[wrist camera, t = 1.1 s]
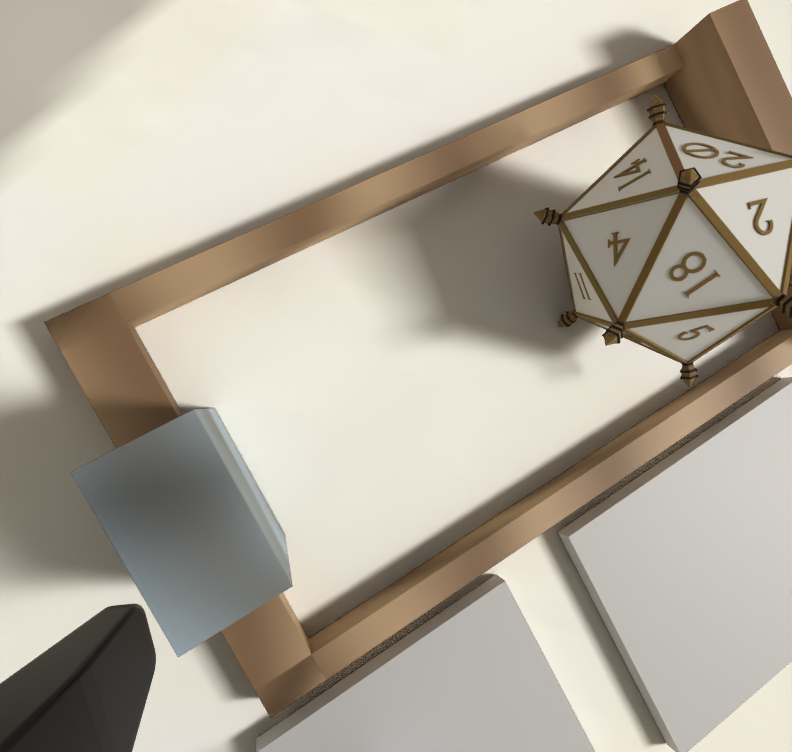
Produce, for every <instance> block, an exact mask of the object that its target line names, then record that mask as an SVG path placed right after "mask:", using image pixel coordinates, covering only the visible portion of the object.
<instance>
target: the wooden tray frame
mask: <svg viewBox="0 0 792 752" xmlns="http://www.w3.org/2000/svg"><path fill="white" fill-rule="evenodd" d="M663 83H664V84H665V86H666V89H667V91H668V93H669V95H670V97H671V99H672V101H673V103H674V106H675V108H676V110H677V112H678V114H679V116H680V118H681V120H682V123H683V125H684V127H685V128H688V129H692V130H695V131H699V132H703V133H707V134H711V135H715V136H719V137H723V138H727V139H730V140H734V141H738V142H742V143H746V144H750V145H754V146H758V147H761V148H765V149H769V150H773V151H777V152H781V153H785V154H789V155H792V97H791V95H790V93H789V91H788V89H787V86H786V84H785V82H784V80H783V78H782V75H781V73H780V71H779V69H778V67H777V64H776V62H775V60H774V58H773V56H772V53H771V51H770V49H769V47H768V45H767V42H766V40H765V38H764V36H763V34H762V31H761V29H760V27H759V25H758V23H757V20H756V18H755V16H754V14H753V12H752V9H751V7H750V5H749V3H748V1H747V0H739V1H737V2H734V3H732V4H730V5H727V6H725V7H723V8H720V9H718V10H716V11H713V12H711V13H709V14H708V15H707V16H706V17H705V18H703V19H702V20H701V21H700V22H699V23H698V24H697V25H696V26H694V27H693V28H692V29H691V30H690V31H689V32H688V33H686V34H685V35H684V36H683V37H682V38H681V39H680V40H679V41H677V42H676V43H675V44H674V45H671V46H669V47H667V48H665V49H662V50H660V51H658V52H655V53H653V54H651V55H649V56H646V57H644V58H642V59H640V60H637V61H635V62H633V63H631V64H628V65H626V66H624V67H621V68H619V69H617V70H615V71H612V72H610V73H608V74H606V75H603V76H601V77H599V78H596V79H594V80H592V81H590V82H587V83H585V84H583V85H581V86H578V87H576V88H574V89H572V90H569V91H567V92H565V93H562V94H560V95H558V96H556V97H553V98H551V99H549V100H547V101H544V102H542V103H540V104H538V105H535V106H533V107H531V108H528V109H526V110H524V111H522V112H519V113H517V114H515V115H513V116H510V117H508V118H506V119H504V120H501V121H499V122H497V123H494V124H492V125H490V126H488V127H485V128H483V129H481V130H479V131H476V132H474V133H472V134H469V135H467V136H465V137H463V138H460V139H458V140H456V141H454V142H451V143H449V144H447V145H445V146H442V147H440V148H438V149H435V150H433V151H431V152H429V153H426V154H424V155H422V156H420V157H417V158H415V159H413V160H411V161H408V162H406V163H404V164H401V165H399V166H397V167H395V168H392V169H390V170H388V171H386V172H383V173H381V174H379V175H376V176H374V177H372V178H370V179H367V180H365V181H363V182H361V183H358V184H356V185H354V186H352V187H349V188H347V189H345V190H342V191H340V192H338V193H336V194H333V195H331V196H329V197H327V198H324V199H322V200H320V201H318V202H315V203H313V204H311V205H308V206H306V207H304V208H302V209H299V210H297V211H295V212H293V213H290V214H288V215H286V216H284V217H281V218H279V219H277V220H274V221H272V222H270V223H268V224H265V225H263V226H261V227H259V228H256V229H254V230H252V231H249V232H247V233H245V234H243V235H240V236H238V237H236V238H234V239H231V240H229V241H227V242H225V243H222V244H220V245H218V246H215V247H213V248H211V249H209V250H206V251H204V252H202V253H200V254H197V255H195V256H193V257H191V258H188V259H186V260H184V261H181V262H179V263H177V264H175V265H172V266H170V267H168V268H166V269H163V270H161V271H159V272H157V273H154V274H152V275H150V276H147V277H145V278H143V279H141V280H138V281H136V282H134V283H132V284H129V285H127V286H125V287H122V288H120V289H118V290H116V291H113V292H111V293H109V294H107V295H104V296H102V297H100V298H98V299H95V300H93V301H91V302H88V303H86V304H84V305H82V306H79V307H77V308H75V309H73V310H70V311H68V312H66V313H64V314H61V315H59V316H57V317H54V318H52V319H50V320H48V321H45V322H44V323H45V325H46V326H47V328H48V330H49V332H50V333H51V335H52V337H53V339H54V340H55V342H56V344H57V346H58V347H59V349H60V351H61V353H62V354H63V356H64V358H65V360H66V361H67V363H68V365H69V367H70V368H71V370H72V372H73V374H74V375H75V377H76V379H77V381H78V382H79V384H80V386H81V388H82V389H83V391H84V393H85V395H86V396H87V398H88V400H89V402H90V403H91V405H92V407H93V409H94V410H95V412H96V414H97V415H98V417H99V419H100V421H101V422H102V424H103V426H104V428H105V429H106V431H107V433H108V435H109V436H110V438H111V440H112V442H113V443H114V445H115V447H116V449H115V450H113V451H111V452H110V453H108V454H106V455H104V456H102V457H100V458H98V459H96V460H94V461H92V462H90V463H88V464H86V465H84V466H82V467H80V468H78V469H76V470H74V471H72V472H71V474H72V476H73V478H74V479H75V481H76V483H77V484H78V486H79V488H80V490H81V491H82V493H83V495H84V496H85V498H86V500H87V502H88V503H89V505H90V507H91V509H92V510H93V512H94V514H95V515H96V517H97V519H98V521H99V522H100V524H101V526H102V527H103V529H104V531H105V533H106V534H107V536H108V538H109V540H110V541H111V543H112V545H113V546H114V548H115V550H116V552H117V553H118V555H119V557H120V558H121V560H122V562H123V564H124V565H125V567H126V569H127V571H128V572H129V574H130V576H131V577H132V579H133V581H134V583H135V584H136V586H137V588H138V589H139V591H140V593H141V595H142V596H143V598H144V600H145V601H146V603H147V605H148V607H149V608H150V610H151V612H152V614H153V615H154V617H155V619H156V620H157V622H158V624H159V626H160V627H161V629H162V631H163V632H164V634H165V636H166V638H167V639H168V641H169V643H170V645H171V646H172V648H173V650H174V651H175V653H176V655H177V657H180V656H181V655H183V654H185V653H186V652H188V651H189V650H191V649H193V648H194V647H196V646H197V645H199V644H201V643H202V642H204V641H205V640H207V639H209V638H210V637H212V636H213V635H215V634H217V633H218V632H220V631H221V632H222V634H223V636H224V637H225V639H226V641H227V643H228V644H229V646H230V648H231V650H232V651H233V653H234V655H235V656H236V658H237V660H238V662H239V663H240V665H241V667H242V669H243V670H244V672H245V674H246V676H247V677H248V679H249V681H250V683H251V684H252V686H253V688H254V690H255V691H256V693H257V695H258V697H259V698H260V700H261V702H262V704H263V705H264V707H265V709H266V711H267V712H268V714H269V716H270V718H271V717H273V716H274V715H275V714H277V713H278V712H280V711H281V710H283V709H284V708H286V707H287V706H289V705H290V704H292V703H293V702H295V701H296V700H298V699H299V698H301V697H302V696H303V695H305V694H306V693H308V692H309V691H311V690H312V689H314V688H315V687H317V686H318V685H320V684H321V683H323V682H324V681H326V680H327V679H328V678H330V677H331V676H333V675H334V674H336V673H337V672H339V671H340V670H342V669H343V668H345V667H346V666H348V665H349V664H351V663H352V662H353V661H355V660H356V659H358V658H359V657H361V656H362V655H364V654H365V653H367V652H368V651H370V650H371V649H373V648H374V647H376V646H377V645H379V644H380V643H381V642H383V641H384V640H386V639H387V638H389V637H390V636H392V635H393V634H395V633H396V632H398V631H399V630H401V629H402V628H404V627H405V626H406V625H408V624H409V623H411V622H412V621H414V620H415V619H417V618H418V617H420V616H421V615H423V614H424V613H426V612H427V611H429V610H430V609H431V608H433V607H434V606H436V605H437V604H439V603H440V602H442V601H443V600H445V599H446V598H448V597H449V596H451V595H452V594H454V593H455V592H457V591H458V590H459V589H461V588H462V587H464V586H465V585H467V584H468V583H470V582H471V581H473V580H474V579H476V578H477V577H479V576H480V575H482V574H483V573H484V572H486V571H487V570H489V569H490V568H492V567H493V566H495V565H496V564H498V563H499V562H501V561H502V560H504V559H505V558H507V557H508V556H509V555H511V554H512V553H514V552H515V551H517V550H518V549H520V548H521V547H523V546H524V545H526V544H527V543H529V542H530V541H532V540H533V539H535V538H536V537H537V536H539V535H540V534H542V533H543V532H545V531H546V530H548V529H549V528H551V527H552V526H554V525H555V524H557V523H558V522H560V521H561V520H562V519H564V518H565V517H567V516H568V515H570V514H571V513H573V512H574V511H576V510H577V509H579V508H580V507H582V506H583V505H585V504H586V503H587V502H589V501H590V500H592V499H593V498H595V497H596V496H598V495H599V494H601V493H602V492H604V491H605V490H607V489H608V488H610V487H611V486H613V485H614V484H615V483H617V482H618V481H620V480H621V479H623V478H624V477H626V476H627V475H629V474H630V473H632V472H633V471H635V470H636V469H638V468H639V467H640V466H642V465H643V464H645V463H646V462H648V461H649V460H651V459H652V458H654V457H655V456H657V455H658V454H660V453H661V452H663V451H664V450H665V449H667V448H668V447H670V446H671V445H673V444H674V443H676V442H677V441H679V440H680V439H682V438H683V437H685V436H686V435H688V434H689V433H691V432H692V431H693V430H695V429H696V428H698V427H699V426H701V425H702V424H704V423H705V422H707V421H708V420H710V419H711V418H713V417H714V416H716V415H717V414H718V413H720V412H721V411H723V410H724V409H726V408H727V407H729V406H730V405H732V404H733V403H735V402H736V401H738V400H739V399H741V398H742V397H743V396H745V395H746V394H748V393H749V392H751V391H752V390H754V389H755V388H757V387H758V386H760V385H761V384H763V383H764V382H766V381H767V380H769V379H770V378H771V377H773V376H774V375H776V374H777V373H779V372H780V371H782V370H783V369H785V368H786V367H788V366H789V365H791V364H792V318H790V317H789V314H787V313H784V314H783V313H782V309H781V308H780V307H779V306H777V307H776V308H774V309H773V310H771V312H772V314H773V316H774V318H775V320H776V322H777V324H778V326H779V329H780V331H779V332H777V333H776V334H774V335H773V336H771V337H770V338H768V339H767V340H765V341H763V342H762V343H760V344H759V345H757V346H756V347H754V348H753V349H751V350H750V351H748V352H747V353H745V354H744V355H742V356H741V357H739V358H737V359H736V360H734V361H733V362H731V363H730V364H728V365H727V366H725V367H724V368H722V369H721V370H719V371H718V372H716V373H714V374H713V375H711V376H710V377H708V378H707V379H705V380H704V381H702V382H701V383H699V384H698V385H696V386H695V387H693V388H692V389H690V390H688V391H687V392H685V393H684V394H682V395H681V396H679V397H678V398H676V399H675V400H673V401H672V402H670V403H669V404H667V405H666V406H664V407H662V408H661V409H659V410H658V411H656V412H655V413H653V414H652V415H650V416H649V417H647V418H646V419H644V420H643V421H641V422H640V423H638V424H636V425H635V426H633V427H632V428H630V429H629V430H627V431H626V432H624V433H623V434H621V435H620V436H618V437H617V438H615V439H613V440H612V441H610V442H609V443H607V444H606V445H604V446H603V447H601V448H600V449H598V450H597V451H595V452H594V453H592V454H591V455H589V456H587V457H586V458H584V459H583V460H581V461H580V462H578V463H577V464H575V465H574V466H572V467H571V468H569V469H568V470H566V471H565V472H563V473H561V474H560V475H558V476H557V477H555V478H554V479H552V480H551V481H549V482H548V483H546V484H545V485H543V486H542V487H540V488H538V489H537V490H535V491H534V492H532V493H531V494H529V495H528V496H526V497H525V498H523V499H522V500H520V501H519V502H517V503H516V504H514V505H512V506H511V507H509V508H508V509H506V510H505V511H503V512H502V513H500V514H499V515H497V516H496V517H494V518H493V519H491V520H490V521H488V522H486V523H485V524H483V525H482V526H480V527H479V528H477V529H476V530H474V531H473V532H471V533H470V534H468V535H467V536H465V537H463V538H462V539H460V540H459V541H457V542H456V543H454V544H453V545H451V546H450V547H448V548H447V549H445V550H444V551H442V552H441V553H439V554H437V555H436V556H434V557H433V558H431V559H430V560H428V561H427V562H425V563H424V564H422V565H421V566H419V567H418V568H416V569H415V570H413V571H411V572H410V573H408V574H407V575H405V576H404V577H402V578H401V579H399V580H398V581H396V582H395V583H393V584H392V585H390V586H388V587H387V588H385V589H384V590H382V591H381V592H379V593H378V594H376V595H375V596H373V597H372V598H370V599H369V600H367V601H366V602H364V603H362V604H361V605H359V606H358V607H356V608H355V609H353V610H352V611H350V612H349V613H347V614H346V615H344V616H343V617H341V618H340V619H338V620H336V621H335V622H333V623H332V624H330V625H329V626H327V627H326V628H324V629H323V630H321V631H320V632H318V633H317V634H315V635H313V636H312V637H310V638H309V639H308V637H307V635H306V633H305V631H304V630H303V628H302V626H301V624H300V622H299V621H298V619H297V617H296V615H295V614H294V612H293V610H292V608H291V606H290V605H289V603H288V601H287V599H286V597H285V596H284V594H283V592H284V591H286V590H287V589H289V588H291V587H292V586H293V585H292V579H291V572H290V565H289V558H288V551H287V545H286V538H285V533H284V532H283V530H282V528H281V526H280V524H279V523H278V521H277V519H276V517H275V515H274V514H273V512H272V510H271V508H270V506H269V505H268V503H267V501H266V499H265V497H264V496H263V494H262V492H261V490H260V488H259V487H258V485H257V483H256V481H255V479H254V478H253V476H252V474H251V472H250V470H249V469H248V467H247V465H246V463H245V461H244V460H243V458H242V456H241V454H240V452H239V451H238V449H237V447H236V445H235V443H234V442H233V440H232V438H231V436H230V434H229V433H228V431H227V429H226V427H225V425H224V424H223V422H222V420H221V418H220V416H219V415H218V413H217V411H216V409H215V408H207V409H194V410H192V411H190V412H188V413H186V414H184V415H183V414H182V412H181V410H180V408H179V407H178V405H177V403H176V401H175V399H174V398H173V396H172V394H171V392H170V390H169V389H168V387H167V385H166V383H165V382H164V380H163V378H162V376H161V374H160V373H159V371H158V369H157V367H156V366H155V364H154V362H153V360H152V358H151V357H150V355H149V353H148V351H147V349H146V348H145V346H144V344H143V342H142V341H141V339H140V337H139V335H138V333H137V332H136V330H135V328H134V327H137V326H139V325H141V324H143V323H145V322H147V321H150V320H152V319H154V318H156V317H158V316H160V315H163V314H165V313H167V312H169V311H171V310H173V309H176V308H178V307H180V306H182V305H184V304H186V303H189V302H191V301H193V300H195V299H197V298H199V297H202V296H204V295H206V294H208V293H210V292H212V291H215V290H217V289H219V288H221V287H223V286H225V285H228V284H230V283H232V282H234V281H236V280H238V279H241V278H243V277H245V276H247V275H249V274H251V273H254V272H256V271H258V270H260V269H262V268H264V267H267V266H269V265H271V264H273V263H275V262H277V261H280V260H282V259H284V258H286V257H288V256H290V255H293V254H295V253H297V252H299V251H301V250H303V249H306V248H308V247H310V246H312V245H314V244H316V243H319V242H321V241H323V240H325V239H327V238H329V237H332V236H334V235H336V234H338V233H340V232H342V231H345V230H347V229H349V228H351V227H353V226H355V225H358V224H360V223H362V222H364V221H366V220H368V219H371V218H373V217H375V216H377V215H379V214H381V213H384V212H386V211H388V210H390V209H392V208H394V207H397V206H399V205H401V204H403V203H405V202H407V201H410V200H412V199H414V198H416V197H418V196H420V195H423V194H425V193H427V192H429V191H431V190H433V189H436V188H438V187H440V186H442V185H444V184H446V183H449V182H451V181H453V180H455V179H457V178H459V177H462V176H464V175H466V174H468V173H470V172H472V171H475V170H477V169H479V168H481V167H483V166H485V165H488V164H490V163H492V162H494V161H496V160H498V159H501V158H503V157H505V156H507V155H509V154H511V153H514V152H516V151H518V150H520V149H522V148H524V147H527V146H529V145H531V144H533V143H535V142H537V141H540V140H542V139H544V138H546V137H548V136H551V135H553V134H555V133H557V132H559V131H561V130H564V129H566V128H568V127H570V126H572V125H574V124H577V123H579V122H581V121H583V120H585V119H587V118H590V117H592V116H594V115H596V114H598V113H600V112H603V111H605V110H607V109H609V108H611V107H613V106H616V105H618V104H620V103H622V102H624V101H626V100H629V99H631V98H633V97H635V96H637V95H639V94H642V93H644V92H646V91H648V90H650V89H652V88H655V87H657V86H659V85H661V84H663ZM791 273H792V268H791ZM786 296H790V297H791V296H792V286H788V290H787V295H786Z"/></svg>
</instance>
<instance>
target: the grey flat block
mask: <svg viewBox="0 0 792 752" xmlns="http://www.w3.org/2000/svg"><path fill="white" fill-rule="evenodd" d="M558 534H559V536H560V538H561V540H562V542H563V544H564V546H565V548H566V550H567V552H568V553H569V555H570V557H571V559H572V561H573V563H574V565H575V567H576V569H577V571H578V573H579V575H580V577H581V579H582V581H583V583H584V584H585V586H586V588H587V590H588V592H589V594H590V596H591V598H592V600H593V602H594V604H595V606H596V608H597V610H598V612H599V614H600V615H601V617H602V619H603V621H604V623H605V625H606V627H607V629H608V631H609V633H610V635H611V637H612V639H613V641H614V643H615V644H616V646H617V648H618V650H619V652H620V654H621V656H622V658H623V660H624V662H625V664H626V666H627V668H628V670H629V672H630V674H631V675H632V677H633V679H634V681H635V683H636V685H637V687H638V689H639V691H640V693H641V695H642V697H643V699H644V701H645V703H646V705H647V706H648V708H649V710H650V712H651V714H652V716H653V718H654V720H655V722H656V724H657V726H658V728H659V730H660V732H661V734H662V736H663V737H664V739H665V741H666V743H667V745H668V746H670V747H671V748H672V749H673V750H674V751H676V752H688V751H689V750H690V749H691V748H693V747H694V746H695V745H696V744H697V743H698V742H700V741H701V740H702V739H703V738H704V737H705V736H706V735H708V734H709V733H710V732H711V731H712V730H713V729H714V728H716V727H717V726H718V725H719V724H720V723H721V722H722V721H724V720H725V719H726V718H727V717H728V716H729V715H731V714H732V713H733V712H734V711H735V710H736V709H737V708H739V707H740V706H741V705H742V704H743V703H744V702H745V701H747V700H748V699H749V698H750V697H751V696H752V695H754V694H755V693H756V692H757V691H758V690H759V689H760V688H762V687H763V686H764V685H765V684H766V683H767V682H768V681H770V680H771V679H772V678H773V677H774V676H775V675H776V674H778V673H779V672H780V671H781V670H782V669H783V668H785V667H786V666H787V665H788V664H789V663H790V662H791V661H792V377H788V378H782V379H780V380H779V381H777V382H776V383H774V384H773V385H772V386H770V387H769V388H767V389H766V390H764V391H763V392H761V393H760V394H758V395H757V396H755V397H754V398H753V399H751V400H750V401H748V402H747V403H745V404H744V405H742V406H741V407H739V408H738V409H736V410H735V411H734V412H732V413H731V414H729V415H728V416H726V417H725V418H723V419H722V420H720V421H719V422H717V423H716V424H715V425H713V426H712V427H710V428H709V429H707V430H706V431H704V432H703V433H701V434H700V435H698V436H697V437H696V438H694V439H693V440H691V441H690V442H688V443H687V444H685V445H684V446H682V447H681V448H679V449H678V450H677V451H675V452H674V453H672V454H671V455H669V456H668V457H666V458H665V459H663V460H662V461H661V462H659V463H658V464H656V465H655V466H653V467H652V468H650V469H649V470H647V471H646V472H644V473H643V474H642V475H640V476H639V477H637V478H636V479H634V480H633V481H631V482H630V483H628V484H627V485H625V486H624V487H623V488H621V489H620V490H618V491H617V492H615V493H614V494H612V495H611V496H609V497H608V498H606V499H605V500H604V501H602V502H601V503H599V504H598V505H596V506H595V507H593V508H592V509H590V510H589V511H587V512H586V513H585V514H583V515H582V516H580V517H579V518H577V519H576V520H574V521H573V522H571V523H570V524H568V525H567V526H566V527H564V528H563V529H561V530H560V531H558ZM256 752H595V751H594V749H593V747H592V745H591V743H590V741H589V739H588V737H587V735H586V733H585V732H584V730H583V728H582V726H581V724H580V722H579V720H578V718H577V716H576V715H575V713H574V711H573V709H572V707H571V705H570V703H569V701H568V699H567V697H566V696H565V694H564V692H563V690H562V688H561V686H560V684H559V682H558V680H557V678H556V677H555V675H554V673H553V671H552V669H551V667H550V665H549V663H548V661H547V660H546V658H545V656H544V654H543V652H542V650H541V648H540V646H539V644H538V642H537V641H536V639H535V637H534V635H533V633H532V631H531V629H530V627H529V625H528V624H527V622H526V620H525V618H524V616H523V614H522V612H521V610H520V608H519V606H518V605H517V603H516V601H515V599H514V597H513V595H512V593H511V591H510V589H509V587H508V586H507V584H506V582H505V581H504V580H503V579H502V578H500V577H499V576H498V575H496V574H495V575H494V576H493V577H491V578H490V579H488V580H487V581H485V582H484V583H482V584H481V585H479V586H478V587H476V588H475V589H474V590H472V591H471V592H469V593H468V594H466V595H465V596H463V597H462V598H460V599H459V600H457V601H456V602H455V603H453V604H452V605H450V606H449V607H447V608H446V609H444V610H443V611H441V612H440V613H438V614H437V615H436V616H434V617H433V618H431V619H430V620H428V621H427V622H425V623H424V624H422V625H421V626H419V627H418V628H417V629H415V630H414V631H412V632H411V633H409V634H408V635H406V636H405V637H403V638H402V639H401V640H399V641H398V642H396V643H395V644H393V645H392V646H390V647H389V648H387V649H386V650H384V651H383V652H382V653H380V654H379V655H377V656H376V657H374V658H373V659H371V660H370V661H368V662H367V663H365V664H364V665H363V666H361V667H360V668H358V669H357V670H355V671H354V672H352V673H351V674H349V675H348V676H346V677H345V678H344V679H342V680H341V681H339V682H338V683H336V684H335V685H333V686H332V687H330V688H329V689H327V690H326V691H325V692H323V693H322V694H320V695H319V696H317V697H316V698H314V699H313V700H311V701H310V702H308V703H307V704H306V705H304V706H303V707H301V708H300V709H298V710H297V711H295V712H294V713H292V714H291V715H289V716H288V717H287V718H285V719H284V720H282V721H281V722H279V723H278V724H276V725H275V726H273V727H272V728H270V729H269V730H268V731H266V732H265V733H263V734H262V735H260V736H259V737H257V738H256Z"/></svg>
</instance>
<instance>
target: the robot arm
mask: <svg viewBox="0 0 792 752" xmlns="http://www.w3.org/2000/svg"><path fill="white" fill-rule="evenodd" d="M155 664H156V654H155V648H154V645H153V641H152V637H151V633H150V629H149V625H148V622H147V618H146V614H145V611H144V609H143V608H142V606H140V605H138V604H126V605H115V606H110V607H107V608H105V609H104V610H102V611H101V612H99V613H98V614H97V615H95V616H94V617H92V618H91V619H90V620H88V621H87V622H85V623H84V624H83V625H81V626H80V627H78V628H77V629H76V630H74V631H73V632H72V633H70V634H69V635H67V636H66V637H65V638H63V639H62V640H60V641H59V642H58V643H56V644H55V645H53V646H52V647H51V648H49V649H48V650H46V651H45V652H44V653H42V654H41V655H39V656H38V657H37V658H35V659H34V660H33V661H31V662H30V663H28V664H27V665H26V666H24V667H23V668H21V669H20V670H19V671H17V672H16V673H14V674H13V675H12V676H10V677H9V678H7V679H6V680H5V681H3V682H2V683H0V752H132V750H133V746H134V742H135V739H136V735H137V732H138V728H139V725H140V721H141V718H142V714H143V710H144V707H145V703H146V700H147V696H148V693H149V689H150V685H151V682H152V678H153V675H154V671H155Z"/></svg>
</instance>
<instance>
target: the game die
mask: <svg viewBox="0 0 792 752" xmlns="http://www.w3.org/2000/svg"><path fill="white" fill-rule="evenodd" d="M665 106H666V104H665V103H663V102H662V101H661V100H660V99H659V98H658V96H657V95H656V94H655V96H654V99H653V101H652V103H651V105H650V108H649V109H647V111H649V113H650V116H649V119H651V120H652V122H653V126H652V127H651V128H650V129H649V130H648V131H647V132H646V133H645V134H644V135H643V136H642V137H641V138H640V139H639V140H638V141H637V142H636V143H635V144H634V145H633V146H632V147H631V148H630V149H629V150H627V151H626V152H625V153H624V154H623V155H622V156H621V157H620V158H619V159H618V160H617V161H616V162H615V163H614V164H613V165H612V166H611V167H610V168H609V169H608V170H607V171H606V172H605V173H604V174H603V175H601V176H600V177H599V178H598V179H597V180H596V181H595V182H594V183H593V184H592V185H591V186H590V187H589V188H588V189H587V190H586V191H585V192H584V193H583V194H582V195H581V196H580V197H579V198H578V199H577V200H575V201H574V202H573V203H572V204H571V205H570V206H569V207H568V208H567V209H566V210H565V211H564V212H563V213H562V214H559V213H557V212H555V211H556V210H549V208H548V207H547V208H545V210H541V211H537V212H533V213H534V214H535V215H536V216H537V217H538V218H539V219H540V221H541V223H542V224H544V223H547V224H548V225H549V226H550V225H551V224H557V225H558V226H559V231H560V237H561V242H562V248H563V253H564V259H565V264H566V270H567V275H568V281H569V286H570V292H571V297H572V303H573V308H574V310H573V311H571V312H568V311H567V312H566V314H564V315H563V314H562V315H561V320H560V322H559V325H558V326H567V327H568V326H570V325H571V323H574V322H576V319H577V318H578V317H579V318H581V319H583V320H585V321H588V322H590V323H592V324H594V325H597V326H599V327H601V328H603V329H606V332H605V333H604V334H603V335H602V336H603V337H604V339H605V344H606V346H607V345H610V344H614V343H620V339H621V338H623V337H624V338H626V339H628V340H630V341H633V342H635V343H637V344H639V345H642V346H644V347H646V348H648V349H651V350H653V351H655V352H657V353H660V354H662V355H664V356H666V357H669V358H671V359H673V360H675V361H678V362H680V363H682V369H681V370H680V373H682V376H681V377H680V379H683V380H684V381H685V382H686V383H687V384H688V385H689V386H691V385H692V383H693V382H694V380H695V379H696V377H698V375H696V371H697V369H696V368H695V367H694V365H693V362H694V361H695V360H697V359H698V358H700V357H701V356H703V355H704V354H706V353H708V352H709V351H711V350H712V349H714V348H715V347H717V346H718V345H720V344H721V343H723V342H724V341H726V340H727V339H729V338H730V337H732V336H733V335H735V334H736V333H738V332H739V331H741V330H742V329H744V328H746V327H747V326H749V325H750V324H752V323H753V322H755V321H756V320H758V319H759V318H761V317H762V316H764V315H765V314H767V313H768V312H770V311H771V310H773V309H774V308H776V307H777V306H779V307H780V308H781V309H782V313H783V314H784V313H787V314H789V317H790V318H792V296H791V297H790V296H786V295H787V290H788V286H792V273H791V268H792V155H789V154H785V153H781V152H777V151H773V150H769V149H765V148H761V147H758V146H754V145H750V144H746V143H742V142H738V141H734V140H730V139H727V138H723V137H719V136H715V135H711V134H707V133H703V132H699V131H695V130H692V129H688V128H684V127H680V126H676V125H672V124H668V123H665V122H664V118H665V114H667V112H666V111H665Z"/></svg>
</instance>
